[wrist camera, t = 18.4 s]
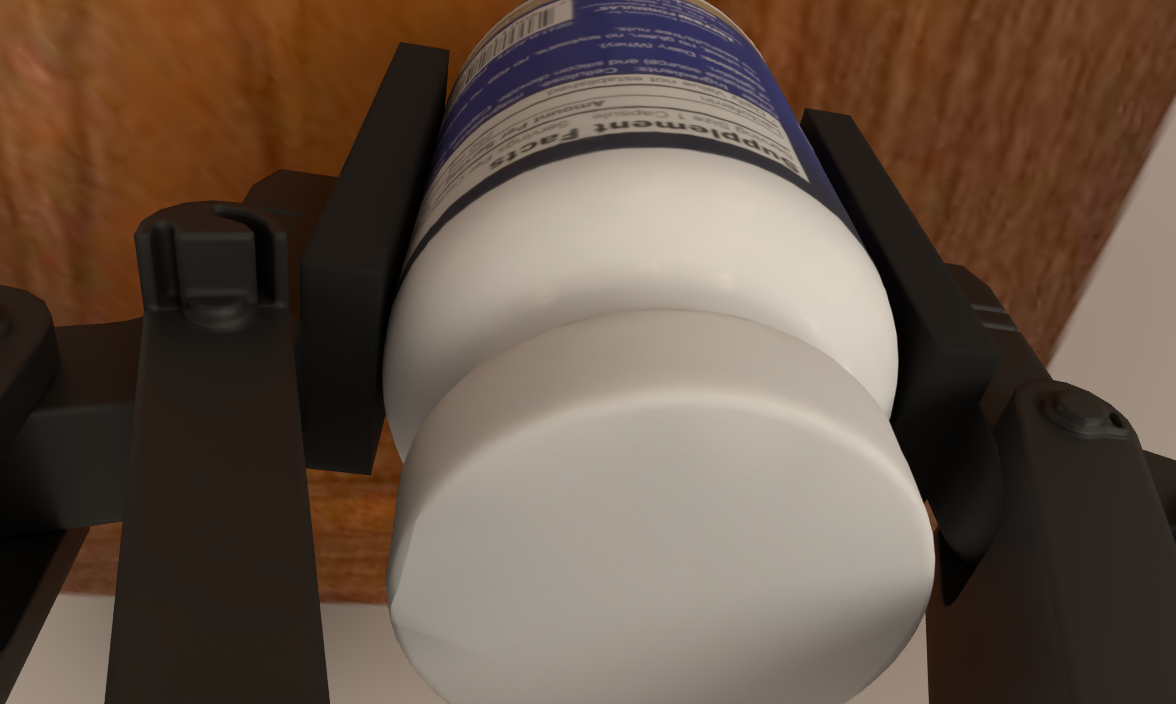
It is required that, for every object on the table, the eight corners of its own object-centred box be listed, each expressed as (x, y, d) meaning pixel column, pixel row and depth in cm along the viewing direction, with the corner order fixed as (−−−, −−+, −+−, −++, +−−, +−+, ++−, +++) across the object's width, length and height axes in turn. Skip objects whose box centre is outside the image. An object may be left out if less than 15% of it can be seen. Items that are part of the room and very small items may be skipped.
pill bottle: (744, 292, 18) (890, 805, 10) (445, 271, 17) (338, 788, 9) (814, -19, 14) (1128, 372, 6) (444, -53, 14) (273, 319, 6)
